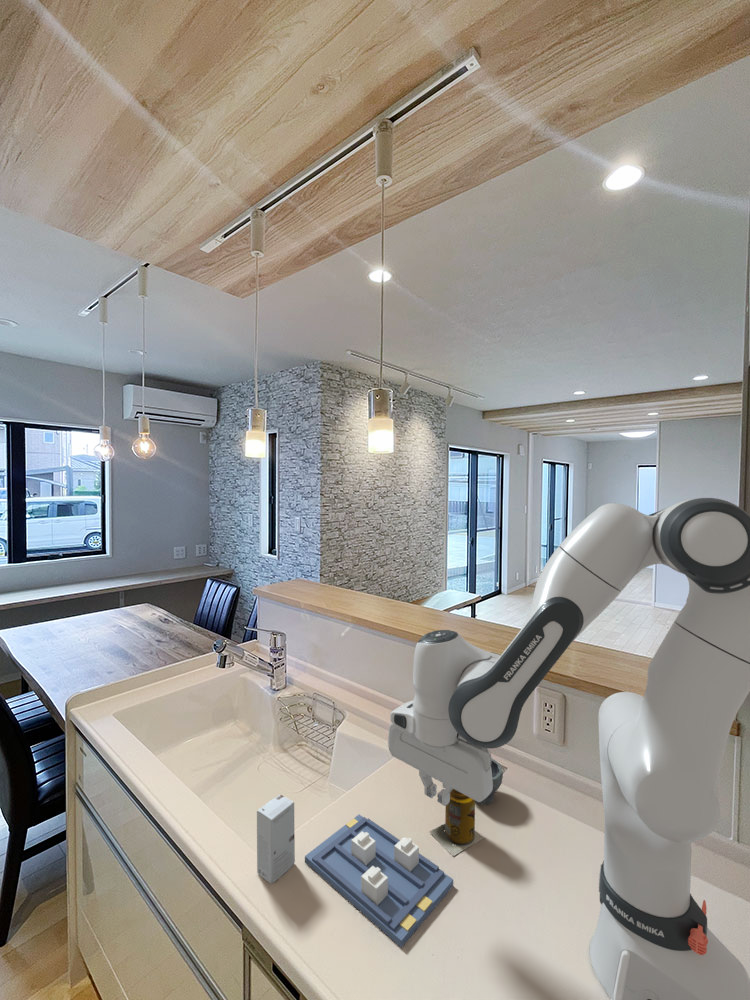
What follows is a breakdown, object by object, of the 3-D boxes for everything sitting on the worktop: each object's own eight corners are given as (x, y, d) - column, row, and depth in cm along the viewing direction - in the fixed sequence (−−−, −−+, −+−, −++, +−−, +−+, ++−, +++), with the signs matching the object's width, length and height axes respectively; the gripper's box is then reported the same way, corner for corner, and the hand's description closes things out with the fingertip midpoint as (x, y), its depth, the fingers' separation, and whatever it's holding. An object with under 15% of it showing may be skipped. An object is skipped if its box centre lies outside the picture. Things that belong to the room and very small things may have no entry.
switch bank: (453, 885, 83) (453, 875, 83) (401, 947, 72) (401, 935, 72) (359, 819, 99) (359, 810, 99) (304, 862, 88) (304, 852, 88)
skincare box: (271, 885, 83) (271, 821, 82) (255, 873, 86) (255, 810, 85) (296, 862, 88) (296, 801, 88) (280, 851, 91) (279, 792, 90)
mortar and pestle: (504, 788, 110) (505, 739, 109) (500, 814, 101) (500, 761, 100) (457, 776, 114) (458, 729, 113) (449, 801, 105) (450, 750, 104)
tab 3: (418, 863, 86) (418, 842, 86) (409, 873, 84) (409, 852, 84) (404, 852, 89) (404, 832, 89) (394, 862, 87) (394, 841, 86)
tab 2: (387, 894, 80) (387, 872, 80) (376, 906, 78) (376, 884, 77) (372, 882, 82) (372, 861, 82) (361, 893, 80) (361, 871, 80)
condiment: (483, 838, 94) (484, 782, 94) (453, 857, 90) (453, 797, 89) (458, 816, 100) (459, 763, 100) (429, 833, 96) (429, 777, 95)
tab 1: (375, 856, 88) (375, 836, 88) (364, 866, 86) (364, 846, 85) (362, 846, 90) (362, 827, 90) (351, 855, 88) (351, 835, 88)
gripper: (500, 738, 76) (499, 818, 77) (404, 698, 90) (404, 766, 90) (481, 754, 71) (480, 840, 72) (383, 710, 85) (383, 782, 86)
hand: (437, 798), depth 81 cm, fingers closed
